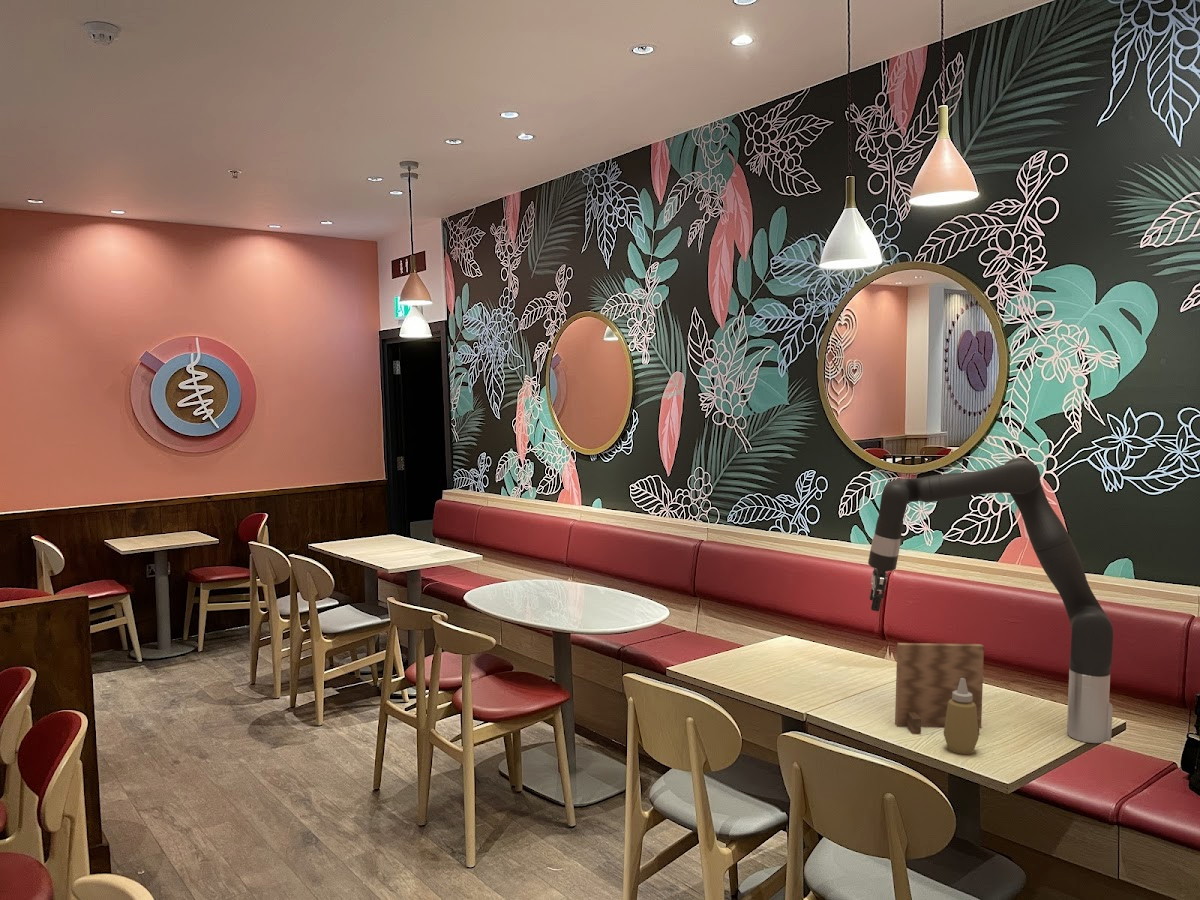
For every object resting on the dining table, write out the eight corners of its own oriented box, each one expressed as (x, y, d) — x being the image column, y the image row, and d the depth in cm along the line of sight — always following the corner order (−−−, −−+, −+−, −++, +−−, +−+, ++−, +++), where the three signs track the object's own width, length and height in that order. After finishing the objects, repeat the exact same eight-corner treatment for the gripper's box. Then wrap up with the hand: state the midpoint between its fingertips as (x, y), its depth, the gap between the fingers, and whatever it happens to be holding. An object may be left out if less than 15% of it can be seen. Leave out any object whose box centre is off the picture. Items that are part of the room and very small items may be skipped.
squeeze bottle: (949, 741, 226) (951, 671, 225) (982, 749, 221) (984, 678, 220) (938, 750, 220) (940, 679, 219) (972, 759, 215) (974, 686, 214)
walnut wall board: (978, 725, 237) (980, 644, 236) (988, 735, 230) (991, 651, 229) (894, 723, 238) (897, 642, 236) (903, 733, 231) (905, 650, 229)
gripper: (900, 560, 241) (889, 616, 244) (896, 546, 254) (886, 599, 257) (872, 555, 242) (861, 611, 246) (869, 541, 256) (859, 594, 259)
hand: (874, 605), depth 252 cm, fingers open, 8 cm apart
